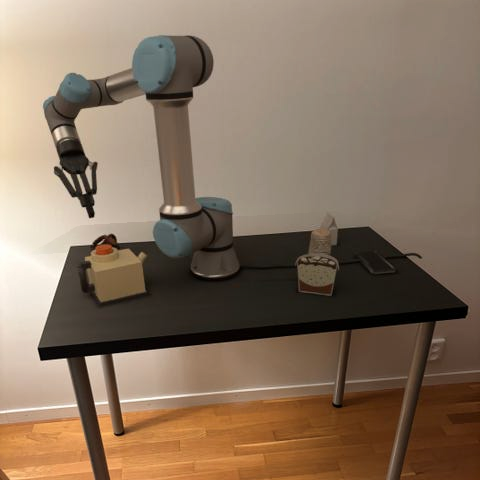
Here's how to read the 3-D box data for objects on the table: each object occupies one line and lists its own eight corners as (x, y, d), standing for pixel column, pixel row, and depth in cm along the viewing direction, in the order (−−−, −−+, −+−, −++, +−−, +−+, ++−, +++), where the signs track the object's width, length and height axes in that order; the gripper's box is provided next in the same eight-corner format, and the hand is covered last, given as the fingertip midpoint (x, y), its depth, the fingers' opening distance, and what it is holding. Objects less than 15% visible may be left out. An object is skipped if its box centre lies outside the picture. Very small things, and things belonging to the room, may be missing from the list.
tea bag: (326, 245, 174) (328, 218, 169) (320, 239, 179) (321, 212, 174) (336, 244, 174) (338, 217, 169) (329, 238, 180) (331, 211, 175)
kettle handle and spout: (143, 276, 154) (139, 242, 149) (158, 292, 144) (154, 257, 138) (78, 291, 146) (71, 256, 140) (89, 309, 136) (82, 272, 130)
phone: (377, 251, 165) (397, 268, 152) (376, 254, 166) (396, 272, 153) (354, 253, 164) (372, 271, 151) (354, 256, 165) (372, 274, 152)
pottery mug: (121, 262, 165) (105, 244, 160) (99, 272, 169) (83, 254, 164) (129, 241, 174) (114, 223, 169) (108, 251, 177) (93, 233, 173)
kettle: (132, 279, 152) (127, 242, 146) (146, 294, 143) (141, 255, 137) (90, 288, 147) (83, 251, 141) (101, 305, 138) (94, 265, 132)
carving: (321, 273, 153) (323, 236, 147) (303, 266, 158) (304, 230, 152) (334, 267, 157) (337, 231, 151) (316, 261, 162) (318, 225, 156)
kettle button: (109, 248, 143) (109, 243, 142) (114, 253, 140) (113, 248, 139) (94, 251, 141) (93, 246, 140) (98, 257, 138) (97, 251, 137)
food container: (340, 287, 145) (343, 255, 140) (336, 296, 140) (339, 263, 135) (298, 282, 148) (300, 250, 143) (294, 290, 143) (295, 258, 138)
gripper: (90, 151, 153) (112, 218, 149) (46, 156, 148) (68, 225, 143) (91, 136, 146) (115, 205, 142) (45, 140, 141) (69, 212, 137)
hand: (91, 215), depth 143 cm, fingers closed
